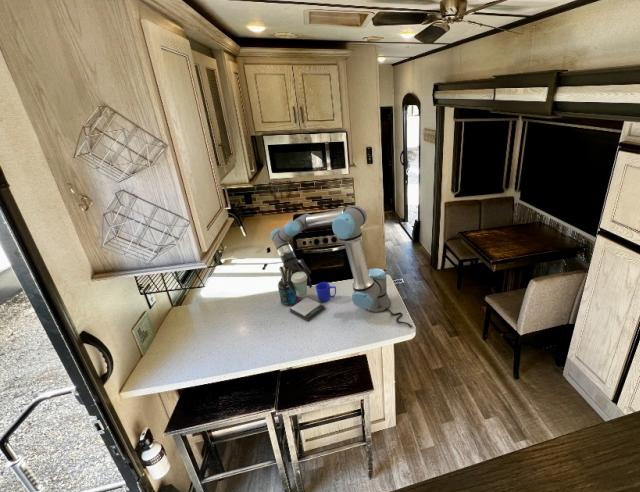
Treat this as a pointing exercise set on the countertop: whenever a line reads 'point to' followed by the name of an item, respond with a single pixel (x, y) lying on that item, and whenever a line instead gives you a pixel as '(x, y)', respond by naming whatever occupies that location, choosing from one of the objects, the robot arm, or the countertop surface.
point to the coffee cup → (300, 283)
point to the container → (287, 293)
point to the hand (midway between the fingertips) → (303, 290)
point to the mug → (324, 291)
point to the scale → (307, 309)
